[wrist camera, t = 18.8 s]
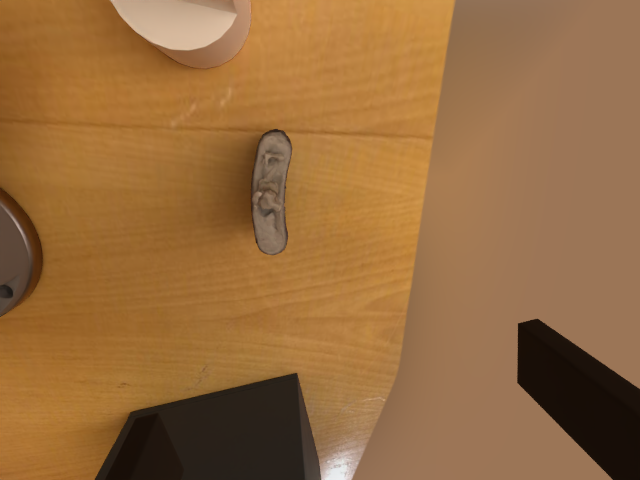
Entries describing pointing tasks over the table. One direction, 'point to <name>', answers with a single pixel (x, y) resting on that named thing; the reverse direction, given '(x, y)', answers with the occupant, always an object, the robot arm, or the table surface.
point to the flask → (270, 191)
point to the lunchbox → (237, 433)
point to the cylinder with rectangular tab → (190, 27)
